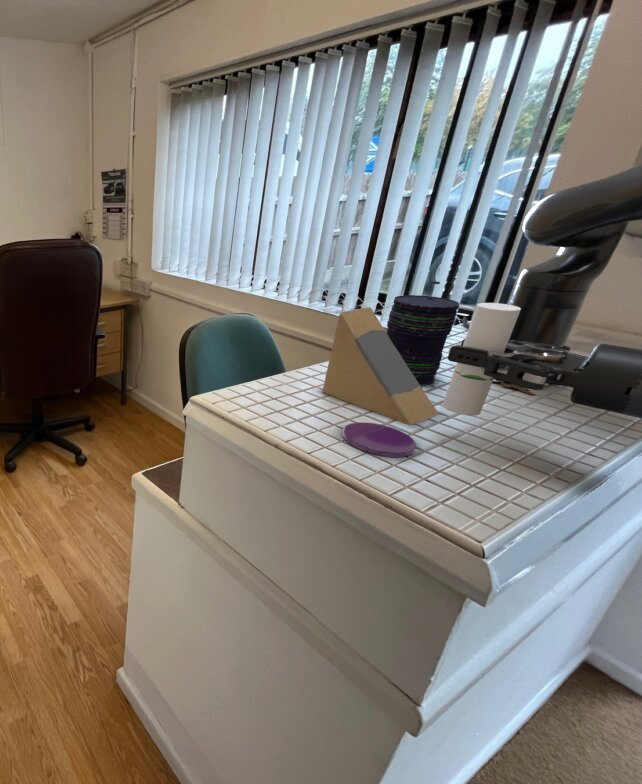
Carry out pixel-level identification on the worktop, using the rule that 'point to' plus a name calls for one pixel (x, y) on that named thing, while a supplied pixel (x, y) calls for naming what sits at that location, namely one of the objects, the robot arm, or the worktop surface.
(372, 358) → the sandwich container
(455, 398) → the tube
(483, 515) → the worktop surface
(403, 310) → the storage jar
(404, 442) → the purple disc
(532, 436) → the worktop surface
